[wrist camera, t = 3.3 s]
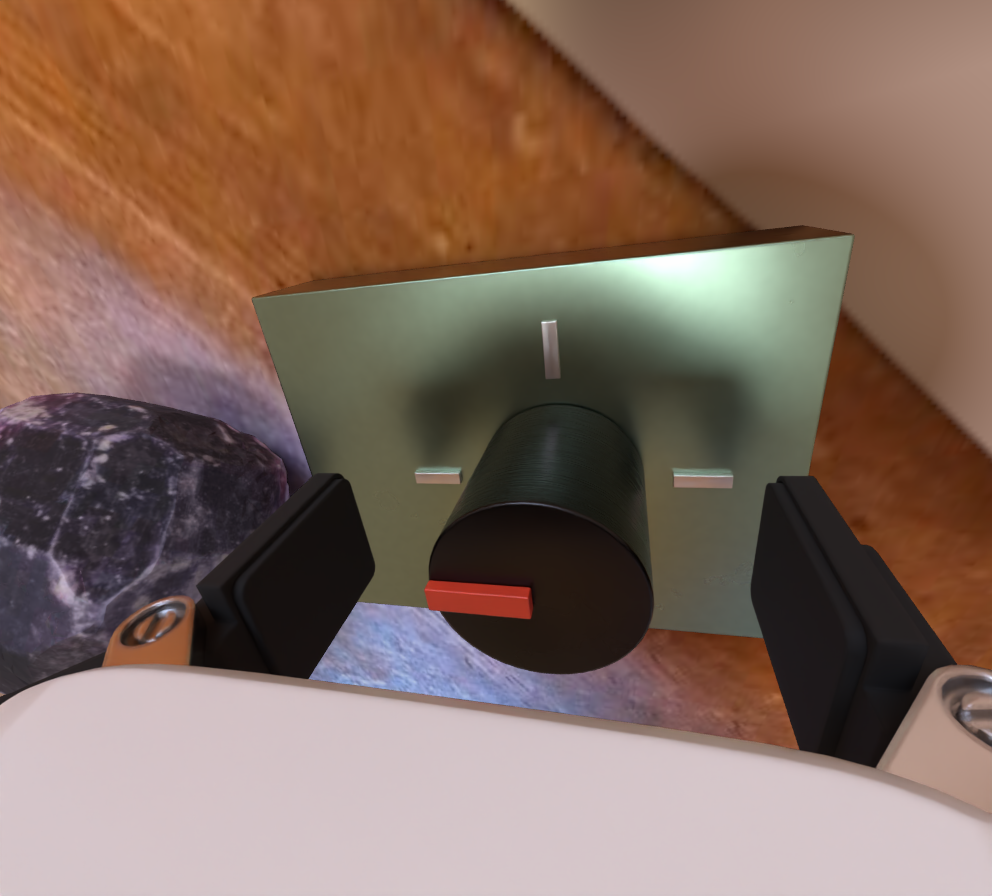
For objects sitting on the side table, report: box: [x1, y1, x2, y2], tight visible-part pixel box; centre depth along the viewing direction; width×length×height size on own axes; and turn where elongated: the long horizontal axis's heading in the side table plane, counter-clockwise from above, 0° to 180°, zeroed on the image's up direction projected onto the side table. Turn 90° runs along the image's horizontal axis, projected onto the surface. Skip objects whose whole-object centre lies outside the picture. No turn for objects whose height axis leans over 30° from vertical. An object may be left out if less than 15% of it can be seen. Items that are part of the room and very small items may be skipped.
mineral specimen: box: [0, 393, 290, 694], centre depth 17 cm, size 10×10×10 cm
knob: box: [424, 405, 654, 674], centre depth 11 cm, size 4×4×5 cm
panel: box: [252, 225, 854, 638], centre depth 15 cm, size 14×11×3 cm
